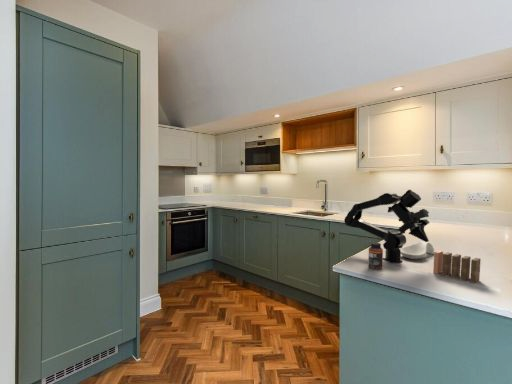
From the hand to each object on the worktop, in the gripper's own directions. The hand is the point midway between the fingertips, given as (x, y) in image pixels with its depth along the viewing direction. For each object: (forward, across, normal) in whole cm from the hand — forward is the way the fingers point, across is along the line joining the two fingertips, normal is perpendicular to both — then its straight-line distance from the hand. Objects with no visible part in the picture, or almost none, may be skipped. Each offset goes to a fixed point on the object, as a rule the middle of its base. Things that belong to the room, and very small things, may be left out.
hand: (427, 241), depth 125 cm
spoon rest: (+1, +20, +18) cm, 26 cm away
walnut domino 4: (+22, 0, -4) cm, 22 cm away
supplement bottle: (-1, -17, +19) cm, 26 cm away
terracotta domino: (+12, 0, +6) cm, 13 cm away
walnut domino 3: (+19, 0, -1) cm, 19 cm away
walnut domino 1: (+14, 0, +3) cm, 15 cm away
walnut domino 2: (+17, 0, +1) cm, 17 cm away
